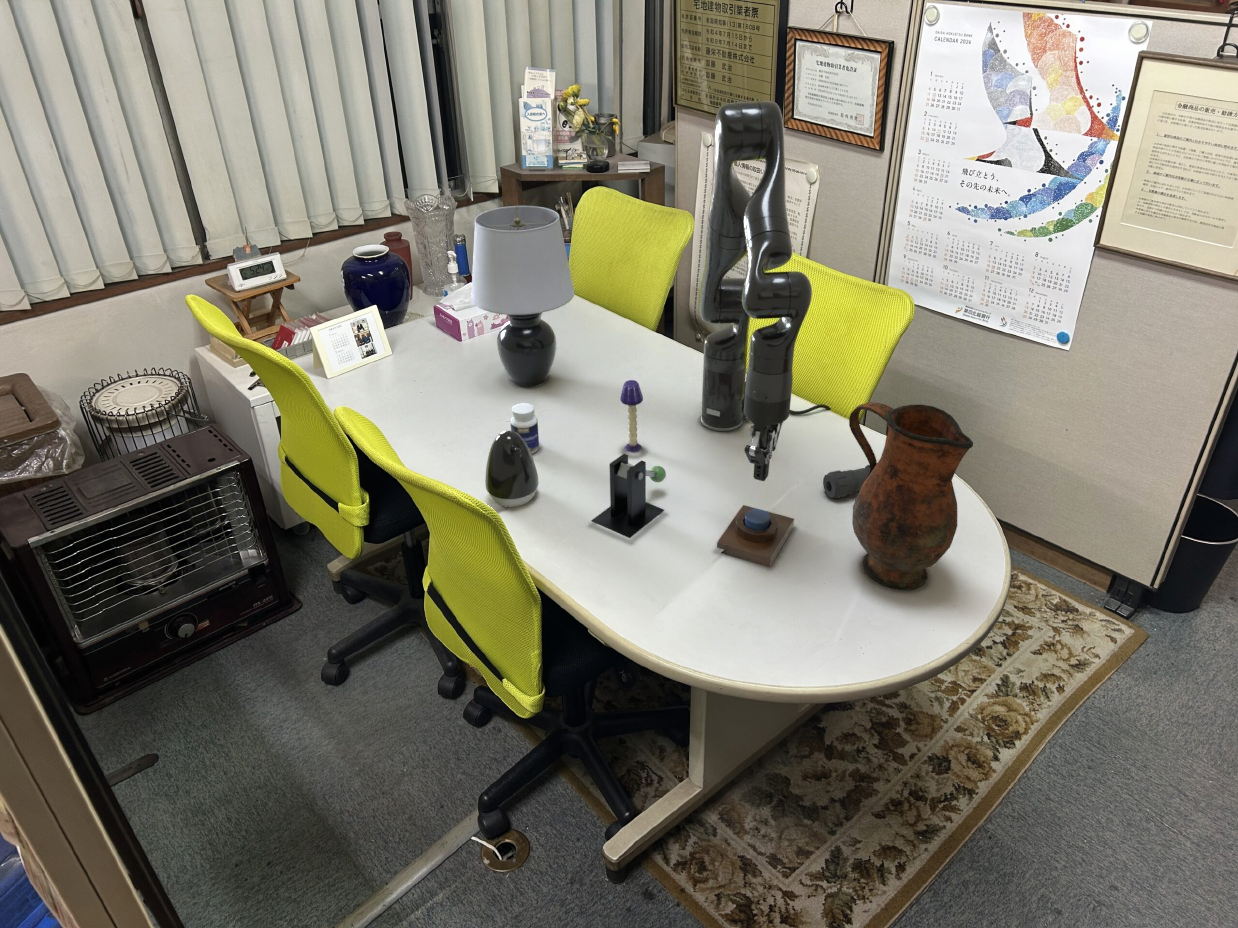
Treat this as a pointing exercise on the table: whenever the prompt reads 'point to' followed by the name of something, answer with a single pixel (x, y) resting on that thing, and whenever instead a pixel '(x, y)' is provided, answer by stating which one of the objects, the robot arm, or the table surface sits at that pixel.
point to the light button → (757, 519)
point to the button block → (755, 538)
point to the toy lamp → (632, 411)
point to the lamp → (521, 284)
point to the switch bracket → (627, 500)
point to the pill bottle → (526, 425)
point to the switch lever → (655, 473)
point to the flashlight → (844, 482)
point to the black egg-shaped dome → (510, 471)
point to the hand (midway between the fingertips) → (760, 477)
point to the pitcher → (908, 493)
